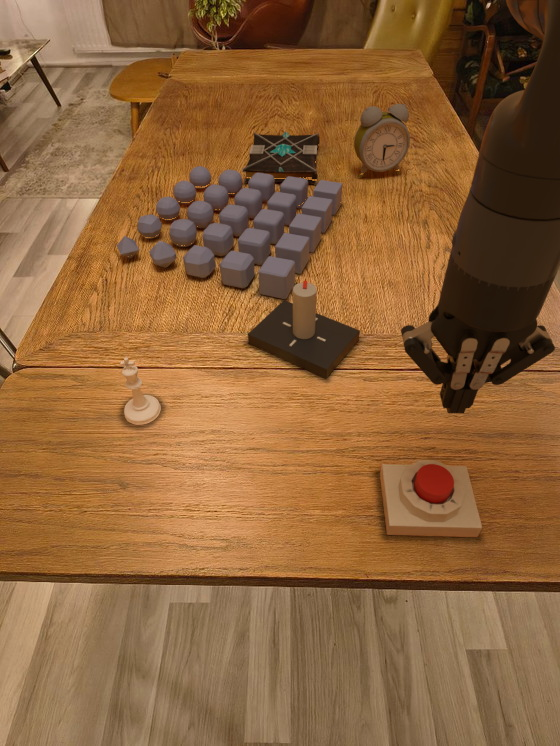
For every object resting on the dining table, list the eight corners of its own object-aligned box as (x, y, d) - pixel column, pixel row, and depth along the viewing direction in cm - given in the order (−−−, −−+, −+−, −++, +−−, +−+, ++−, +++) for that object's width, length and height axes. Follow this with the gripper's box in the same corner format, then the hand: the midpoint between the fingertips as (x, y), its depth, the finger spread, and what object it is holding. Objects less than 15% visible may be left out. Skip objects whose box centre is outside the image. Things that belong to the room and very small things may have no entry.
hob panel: (358, 340, 80) (360, 329, 78) (326, 379, 74) (326, 368, 73) (284, 309, 86) (284, 299, 84) (248, 343, 80) (247, 333, 78)
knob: (314, 339, 77) (316, 295, 71) (292, 338, 77) (291, 294, 71) (315, 325, 80) (317, 280, 74) (293, 324, 80) (293, 280, 74)
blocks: (286, 300, 87) (285, 276, 84) (112, 263, 96) (105, 240, 92) (341, 204, 110) (342, 182, 106) (196, 182, 119) (193, 160, 115)
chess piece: (129, 397, 72) (111, 345, 65) (164, 397, 72) (149, 345, 65) (120, 424, 69) (100, 372, 62) (157, 425, 69) (141, 373, 62)
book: (317, 186, 116) (317, 164, 113) (243, 184, 117) (241, 163, 114) (319, 147, 131) (320, 126, 128) (253, 146, 132) (252, 125, 129)
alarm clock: (357, 182, 117) (363, 112, 107) (348, 169, 122) (353, 101, 111) (405, 176, 119) (416, 107, 108) (395, 164, 124) (404, 96, 113)
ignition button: (446, 472, 59) (450, 464, 57) (453, 504, 56) (457, 495, 55) (411, 472, 59) (414, 463, 58) (416, 503, 56) (419, 494, 55)
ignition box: (462, 475, 63) (470, 456, 60) (477, 537, 57) (487, 519, 54) (379, 474, 63) (383, 455, 60) (386, 535, 57) (391, 517, 55)
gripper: (422, 283, 35) (389, 437, 48) (619, 283, 35) (535, 438, 47) (406, 226, 40) (381, 378, 53) (578, 225, 40) (511, 379, 52)
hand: (453, 406), depth 50 cm, fingers closed
